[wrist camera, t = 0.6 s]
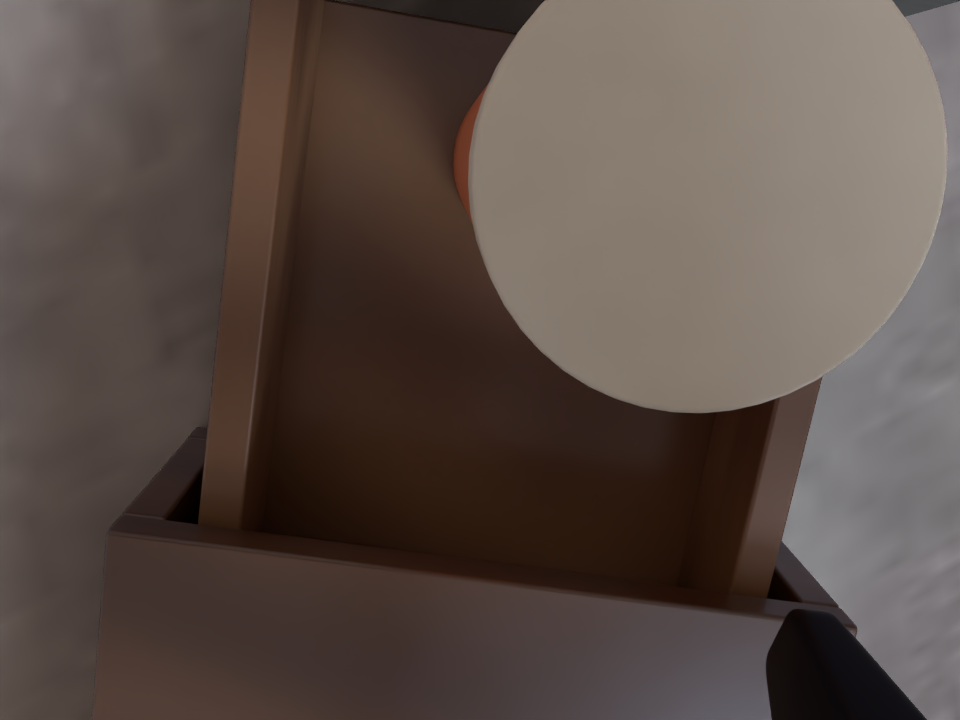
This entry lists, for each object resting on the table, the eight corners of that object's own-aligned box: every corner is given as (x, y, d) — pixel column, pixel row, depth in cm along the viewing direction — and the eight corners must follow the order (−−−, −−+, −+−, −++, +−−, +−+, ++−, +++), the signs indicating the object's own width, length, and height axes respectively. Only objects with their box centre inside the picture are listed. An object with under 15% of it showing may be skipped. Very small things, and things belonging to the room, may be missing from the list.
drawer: (296, -372, 17) (251, -538, 13) (917, -243, 18) (1058, -359, 14) (203, 534, 21) (145, 628, 17) (717, 600, 22) (782, 705, 18)
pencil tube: (628, 251, 19) (926, 408, 7) (452, 255, 19) (475, 422, 7) (633, 66, 18) (975, -83, 7) (448, 68, 18) (467, -78, 6)
